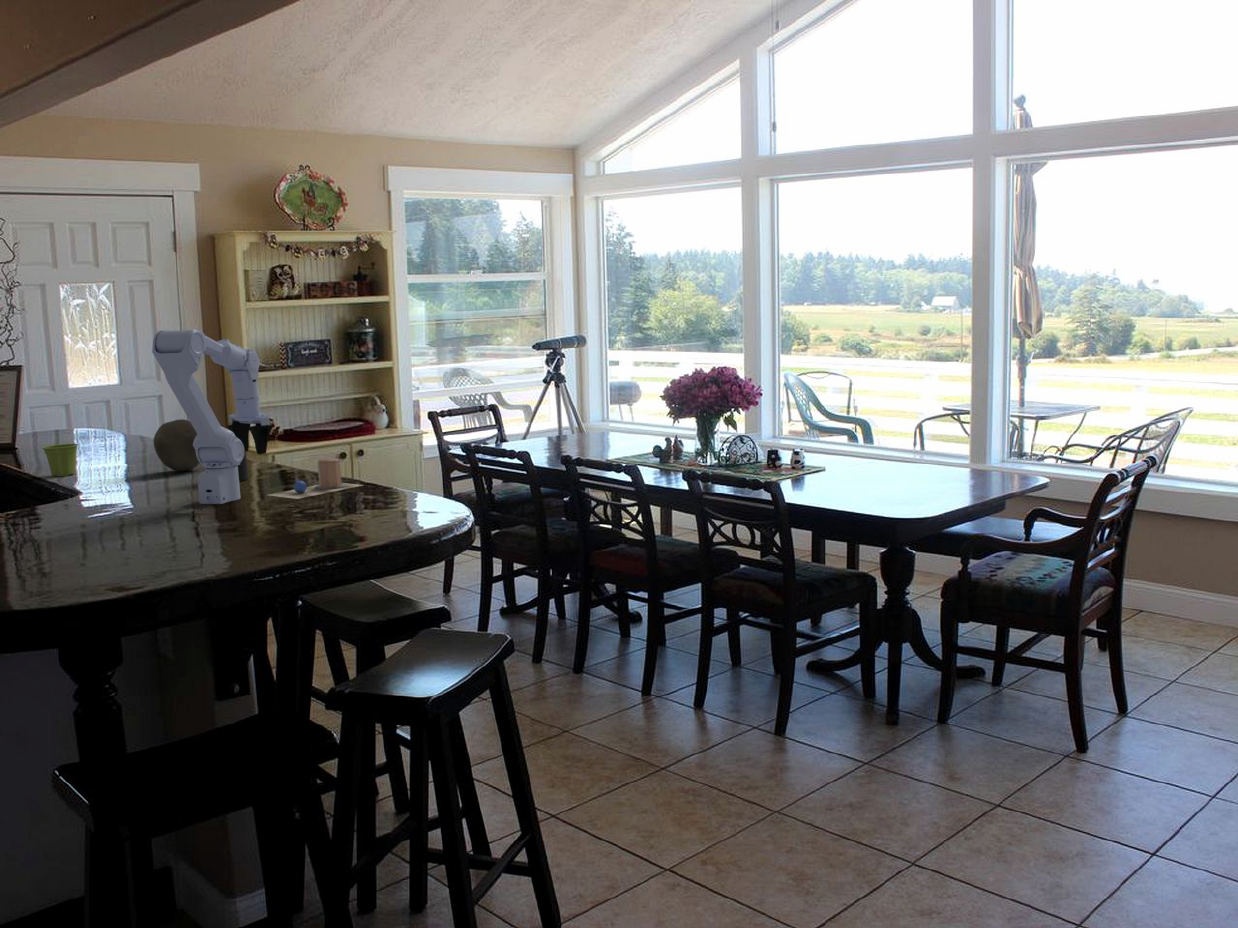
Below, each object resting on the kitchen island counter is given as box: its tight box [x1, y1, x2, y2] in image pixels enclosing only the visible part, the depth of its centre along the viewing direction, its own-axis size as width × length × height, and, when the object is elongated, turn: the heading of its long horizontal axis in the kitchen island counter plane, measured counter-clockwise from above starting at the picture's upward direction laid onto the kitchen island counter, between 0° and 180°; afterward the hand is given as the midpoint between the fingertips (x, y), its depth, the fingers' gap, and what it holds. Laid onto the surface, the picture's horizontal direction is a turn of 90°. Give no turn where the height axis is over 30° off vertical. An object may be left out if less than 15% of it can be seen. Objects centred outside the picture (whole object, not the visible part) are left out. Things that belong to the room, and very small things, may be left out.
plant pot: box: [41, 443, 79, 477], centre depth 339 cm, size 9×9×9 cm
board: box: [267, 482, 364, 500], centre depth 285 cm, size 20×12×1 cm, turn 142°
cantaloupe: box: [153, 418, 201, 472], centre depth 334 cm, size 14×14×15 cm
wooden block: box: [317, 457, 343, 488], centre depth 288 cm, size 5×5×6 cm
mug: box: [238, 451, 249, 483], centre depth 314 cm, size 9×12×9 cm
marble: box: [293, 480, 308, 493], centre depth 282 cm, size 3×3×3 cm
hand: (252, 452), depth 290 cm, fingers open, 7 cm apart
